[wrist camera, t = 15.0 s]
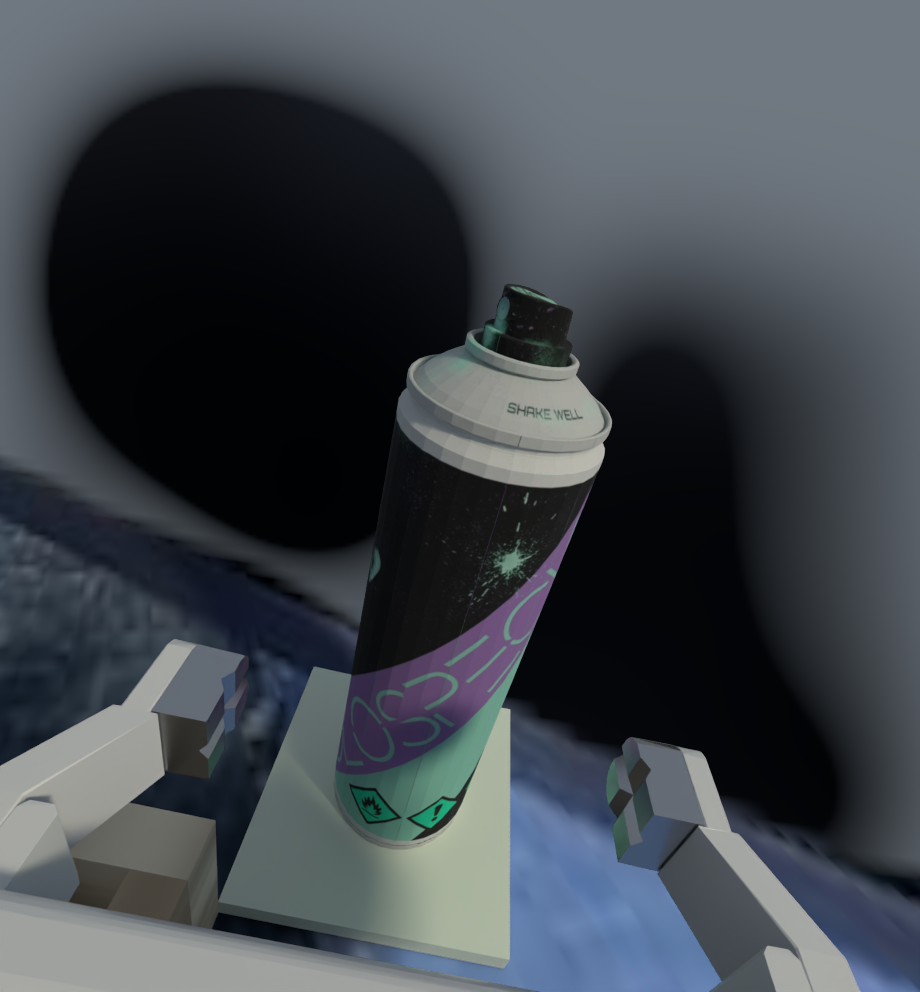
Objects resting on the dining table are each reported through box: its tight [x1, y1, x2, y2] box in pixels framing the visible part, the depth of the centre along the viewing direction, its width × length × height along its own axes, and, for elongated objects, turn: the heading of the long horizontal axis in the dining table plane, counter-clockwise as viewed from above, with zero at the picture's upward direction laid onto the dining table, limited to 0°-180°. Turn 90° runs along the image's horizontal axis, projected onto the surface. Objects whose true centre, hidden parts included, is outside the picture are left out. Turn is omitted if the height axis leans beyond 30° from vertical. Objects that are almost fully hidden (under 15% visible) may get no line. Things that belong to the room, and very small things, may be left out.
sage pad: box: [218, 667, 510, 969], centre depth 22 cm, size 10×10×1 cm
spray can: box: [334, 284, 612, 850], centre depth 17 cm, size 6×6×20 cm
